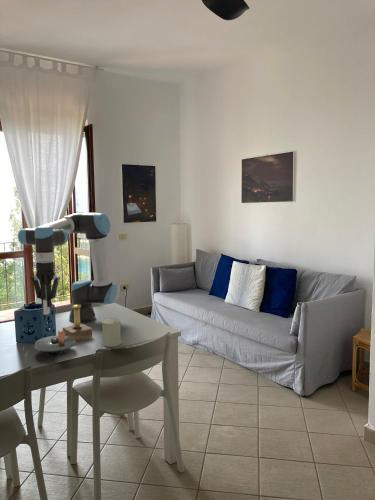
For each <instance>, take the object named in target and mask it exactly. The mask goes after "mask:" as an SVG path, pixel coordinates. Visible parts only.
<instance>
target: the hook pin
mask: <svg viewBox="0 0 375 500" xmlns="http://www.w3.org/2000/svg"><path fill="white" fill-rule="evenodd" d="M72 308H74V322H73V325H74V330H77V329H80V324H81V323H80V308H81V305H80V304H76V305H72V304H71V309H72Z"/></svg>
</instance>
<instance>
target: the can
mask: <svg viewBox="0 0 375 500" xmlns="http://www.w3.org/2000/svg"><path fill="white" fill-rule="evenodd" d="M101 323H102V324H101V325H102V327H101V328H102V329H101V330H102V343H101V344H102V345H103V346H104V347H110V348H111V347H112V348H113V347H117V346H120V345H121V344H122V340H121V339H122V337H121V333H122V331H121V326H122V325H121V319H119V318H105V319H102V321H101Z"/></svg>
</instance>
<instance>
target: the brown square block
mask: <svg viewBox="0 0 375 500" xmlns="http://www.w3.org/2000/svg"><path fill="white" fill-rule="evenodd" d="M62 330H64V332H65V336H70V337H73V338H74V339H75V343H76V341H77V342H80V340H81V341H85V340H90V339H92V338H93V328H92V327H90V326H87V325H86V324H83V323H80V329H77V330H74V324H73V325H68V326H64V327H62Z"/></svg>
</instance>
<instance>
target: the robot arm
mask: <svg viewBox="0 0 375 500" xmlns="http://www.w3.org/2000/svg"><path fill="white" fill-rule="evenodd" d="M110 228H111V222H110V219H109V217H108V216H107V214H105V213H104V212H103V213H101V212H76V213H75V212H74V213H72V214H68V215H65V216H62V217H61V218H60V219H59V220H56V221H52V222H49V223H46V224H45V223H44V224H43V225H38V226H36V227H32V228H20V230H19V231H18V234H17V239H18V242H19V243H20V245H27V246H35V271H36V272H35V275H34V276H31V277H30V280H31V281H32V284H33V287H34V292H35V296H36V299H39V300H40V301H41V307H42V309H43V315H46V316H47V315H49V314H50V313H51V310H50V309H51V307H52V300H53V299H54V298H56V295H57V291H58V285H59V282H60V280H61V277H60V276H57V275H56V273H55V262H54V261H55V257H54V256H55V255H54V254H55V253H54V247H57V246H63V245H65V244H67V243H68V242H69V235H70V234H81V235H82V234H83V235H85V239H86V240H88V241H89V248H90V249H89V250H90V258H91V266H92V273H93V280H91V279H84V280H77V281H74V282H73V283H72V284H71V290H70V291H71V306H72V305H76V304H80V305H81V308H80V324H83V323H88V322H93V321H94V320H95V319H96V313H95V309H94V308H93V307H94V306H93V304H100V305H101V304H102V305H111V304H113V303H114V301H115V299H116V296H117V292H118V286H117V285H116V284H115V283H113V280H112V278H110V275H109V264H108V257H107V247H106V238H107V237H108V234H109V233H110V231H111V229H110ZM52 281H53V282H52ZM68 319H69V320H68V321H70V322H71V323H74V308H72V307H71V310H70V313H69V316H68Z"/></svg>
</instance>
